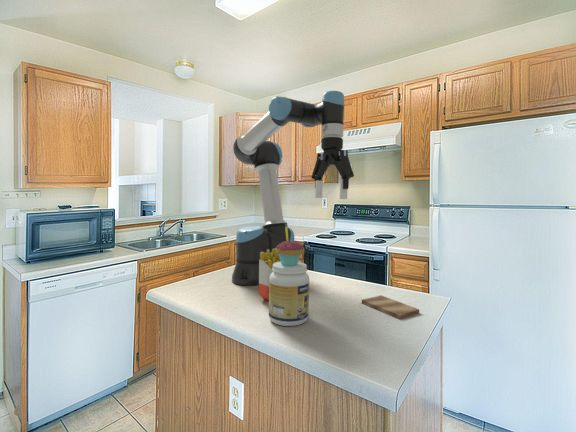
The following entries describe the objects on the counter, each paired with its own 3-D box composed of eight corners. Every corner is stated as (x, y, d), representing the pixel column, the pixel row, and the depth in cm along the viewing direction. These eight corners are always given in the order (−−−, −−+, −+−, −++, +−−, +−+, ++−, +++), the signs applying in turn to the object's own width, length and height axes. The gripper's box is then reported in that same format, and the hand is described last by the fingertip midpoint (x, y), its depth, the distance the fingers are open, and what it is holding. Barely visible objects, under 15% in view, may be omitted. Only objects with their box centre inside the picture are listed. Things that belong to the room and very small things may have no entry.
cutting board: (361, 303, 109) (361, 299, 109) (380, 298, 115) (380, 295, 115) (399, 319, 96) (399, 315, 96) (419, 312, 101) (419, 309, 101)
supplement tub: (303, 330, 87) (304, 270, 85) (262, 324, 90) (263, 267, 89) (311, 314, 99) (313, 261, 97) (275, 309, 102) (276, 258, 101)
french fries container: (288, 296, 115) (289, 248, 113) (267, 304, 107) (268, 252, 105) (279, 293, 118) (280, 247, 116) (258, 300, 110) (259, 250, 108)
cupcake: (269, 264, 93) (270, 224, 92) (288, 260, 99) (289, 222, 98) (290, 269, 87) (291, 227, 86) (309, 264, 93) (310, 225, 92)
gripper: (303, 141, 117) (301, 197, 118) (348, 130, 96) (346, 199, 97) (319, 143, 121) (317, 197, 122) (366, 133, 100) (363, 199, 101)
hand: (330, 198), depth 110 cm, fingers open, 13 cm apart
